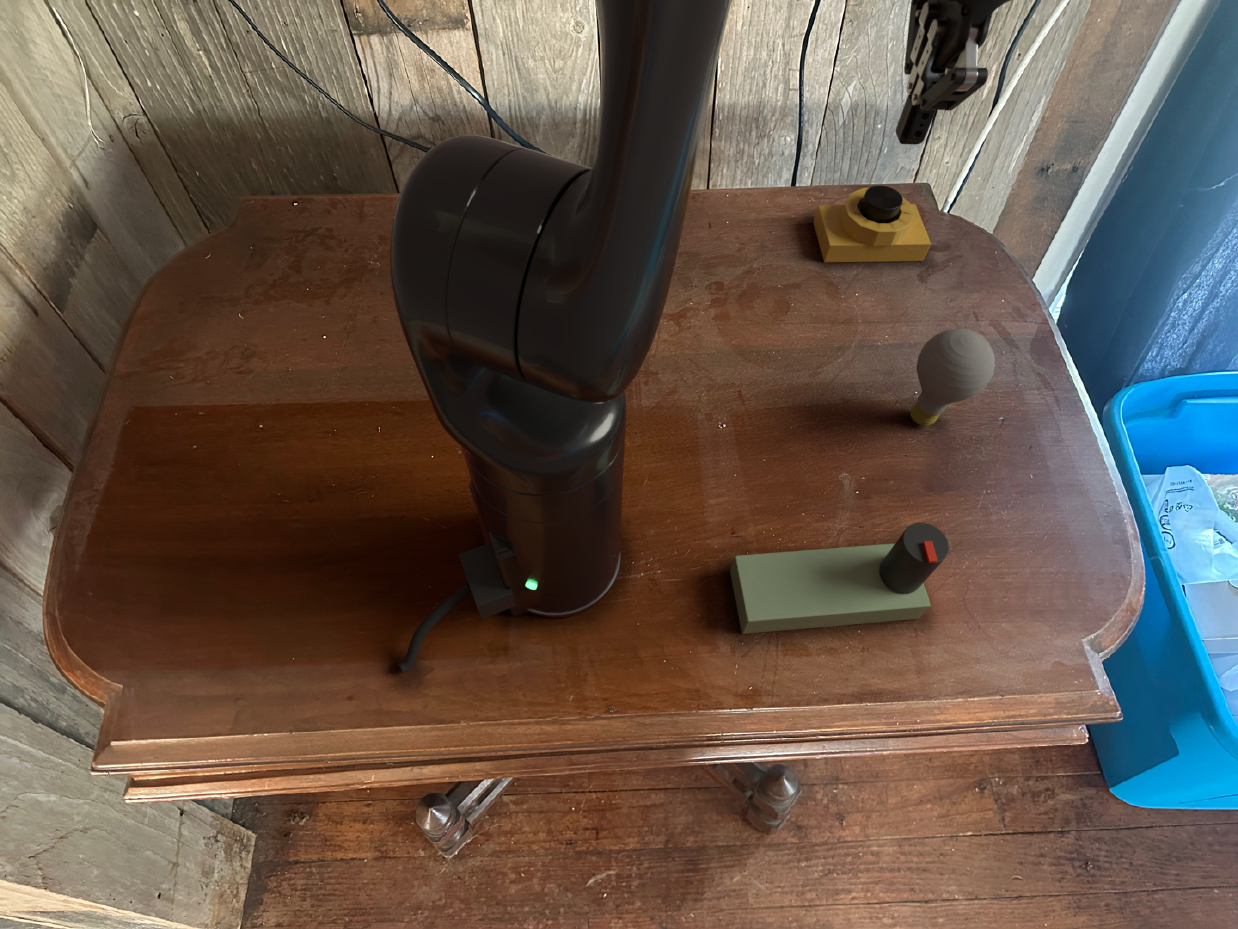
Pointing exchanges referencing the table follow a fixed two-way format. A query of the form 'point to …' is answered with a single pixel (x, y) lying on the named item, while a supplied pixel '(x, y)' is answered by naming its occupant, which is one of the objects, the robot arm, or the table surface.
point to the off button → (881, 204)
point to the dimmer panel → (818, 590)
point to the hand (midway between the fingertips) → (908, 139)
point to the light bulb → (951, 371)
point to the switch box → (869, 233)
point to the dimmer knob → (913, 558)
